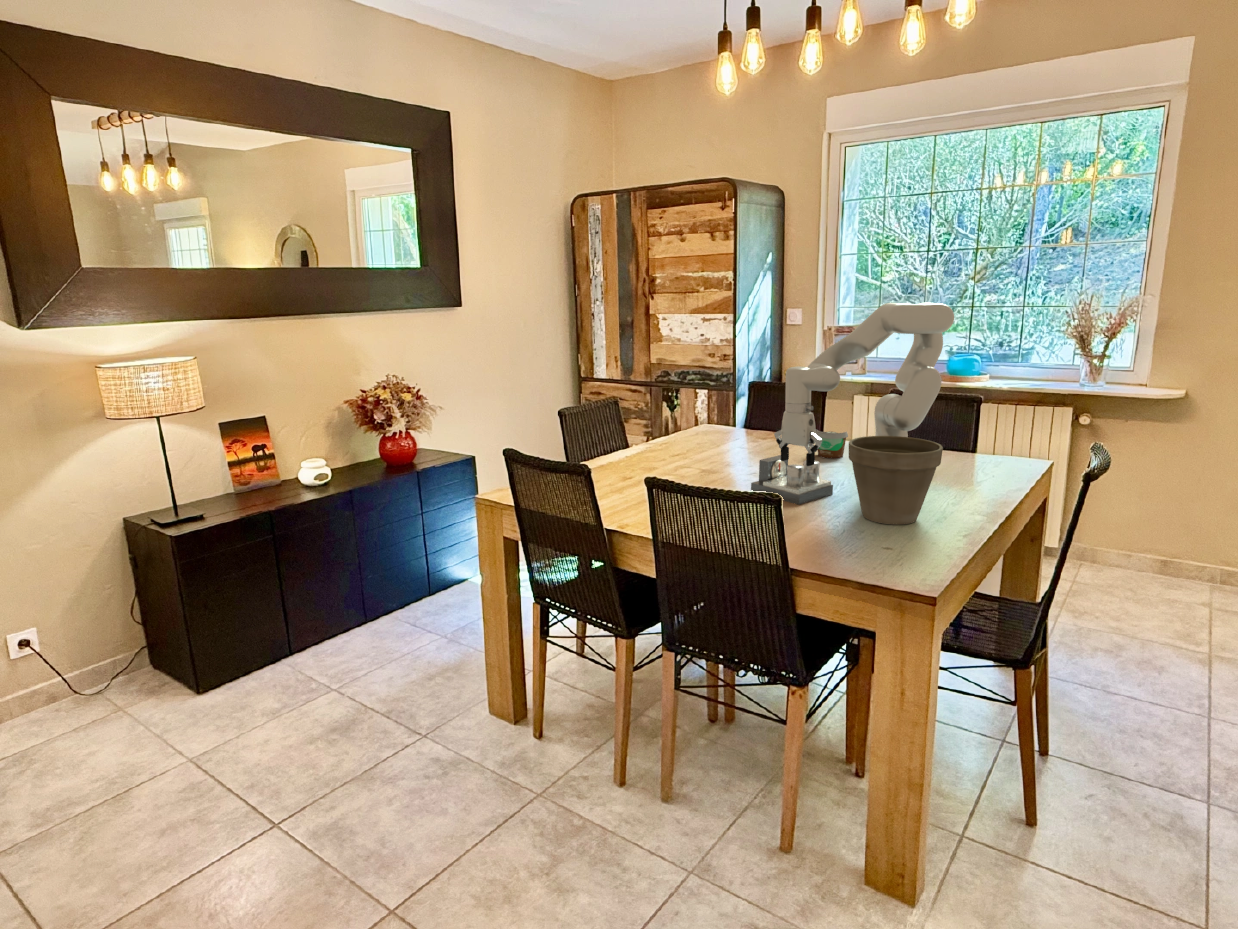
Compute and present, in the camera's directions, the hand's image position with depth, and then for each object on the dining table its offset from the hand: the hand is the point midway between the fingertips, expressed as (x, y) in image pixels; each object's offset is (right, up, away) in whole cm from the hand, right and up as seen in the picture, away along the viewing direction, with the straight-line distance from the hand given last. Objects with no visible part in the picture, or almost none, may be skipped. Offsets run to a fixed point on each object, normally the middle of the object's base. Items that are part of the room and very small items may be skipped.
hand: (797, 462), depth 231 cm
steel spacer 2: (+6, -6, +6) cm, 10 cm away
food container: (+25, +2, +54) cm, 59 cm away
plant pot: (+22, -16, -17) cm, 32 cm away
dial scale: (0, -10, +8) cm, 13 cm away
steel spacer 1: (0, -7, +2) cm, 7 cm away
